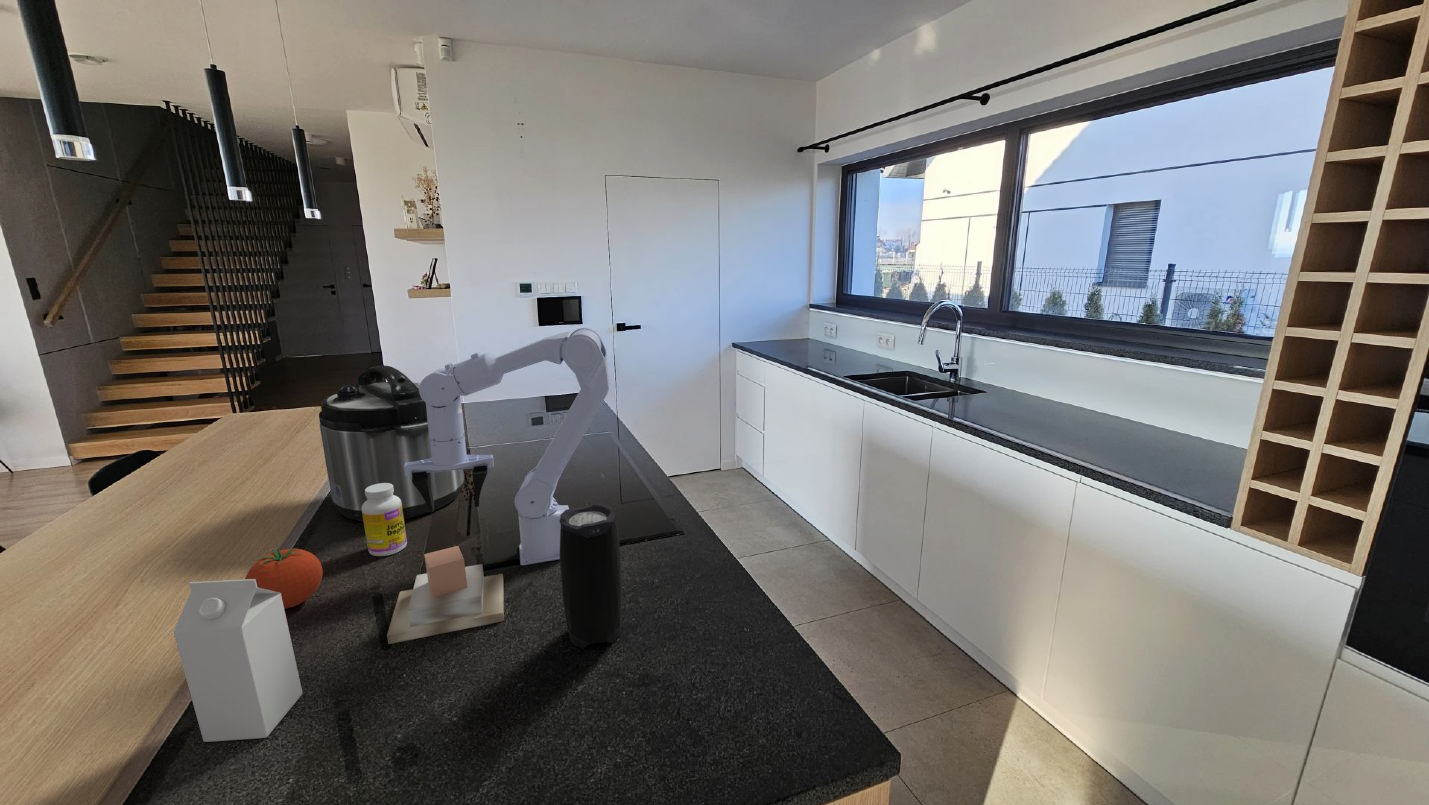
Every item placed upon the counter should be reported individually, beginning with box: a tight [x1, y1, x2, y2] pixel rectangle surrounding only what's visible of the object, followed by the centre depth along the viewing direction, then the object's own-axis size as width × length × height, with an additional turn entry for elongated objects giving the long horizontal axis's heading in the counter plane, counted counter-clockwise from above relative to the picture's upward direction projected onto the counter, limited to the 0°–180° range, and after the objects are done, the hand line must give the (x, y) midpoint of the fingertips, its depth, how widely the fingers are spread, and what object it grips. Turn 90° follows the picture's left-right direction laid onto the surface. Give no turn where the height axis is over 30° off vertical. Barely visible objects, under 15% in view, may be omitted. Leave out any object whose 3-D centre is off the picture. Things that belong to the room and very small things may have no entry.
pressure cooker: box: [318, 364, 470, 522], centre depth 131 cm, size 30×28×32 cm
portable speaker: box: [559, 502, 623, 650], centre depth 84 cm, size 9×9×20 cm
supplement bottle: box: [362, 483, 408, 557], centre depth 111 cm, size 7×7×13 cm
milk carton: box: [173, 579, 303, 743], centre depth 69 cm, size 7×7×19 cm
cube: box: [423, 545, 467, 597], centre depth 91 cm, size 5×5×5 cm
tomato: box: [244, 547, 324, 610], centre depth 93 cm, size 10×10×10 cm
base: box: [386, 563, 505, 645], centre depth 92 cm, size 16×12×4 cm
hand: (454, 507), depth 106 cm, fingers open, 7 cm apart
